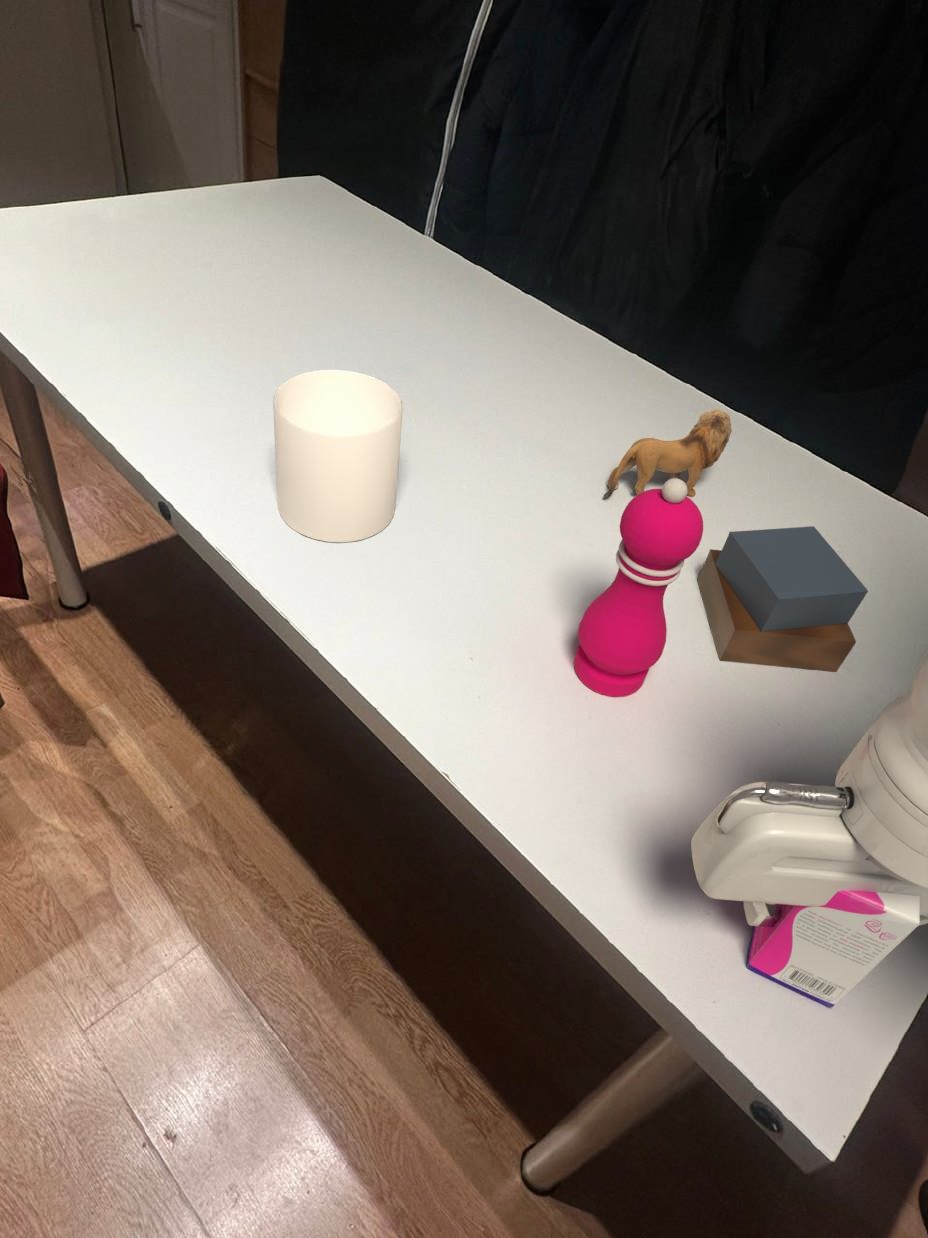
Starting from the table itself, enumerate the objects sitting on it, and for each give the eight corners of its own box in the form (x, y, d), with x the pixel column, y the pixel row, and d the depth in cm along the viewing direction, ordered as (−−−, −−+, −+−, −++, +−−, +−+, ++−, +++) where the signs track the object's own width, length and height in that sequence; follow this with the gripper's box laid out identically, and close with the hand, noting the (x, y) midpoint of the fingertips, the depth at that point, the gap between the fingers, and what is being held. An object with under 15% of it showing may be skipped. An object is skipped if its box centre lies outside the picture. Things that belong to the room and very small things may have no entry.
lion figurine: (692, 465, 97) (717, 397, 91) (721, 491, 94) (749, 422, 88) (590, 488, 91) (610, 417, 85) (618, 516, 88) (640, 444, 82)
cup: (298, 553, 77) (295, 444, 69) (263, 482, 85) (257, 376, 76) (412, 530, 82) (423, 426, 74) (370, 465, 89) (376, 363, 81)
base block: (803, 591, 83) (819, 560, 80) (836, 672, 75) (856, 642, 72) (697, 579, 82) (710, 548, 79) (719, 660, 74) (735, 629, 71)
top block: (796, 558, 80) (814, 525, 77) (848, 623, 74) (868, 590, 71) (714, 564, 78) (729, 531, 75) (761, 632, 71) (778, 599, 69)
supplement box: (841, 931, 56) (926, 845, 49) (831, 1011, 52) (923, 931, 44) (758, 894, 58) (828, 803, 50) (743, 968, 54) (816, 883, 46)
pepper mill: (558, 684, 70) (618, 492, 56) (579, 630, 75) (638, 441, 61) (641, 713, 68) (722, 524, 55) (656, 656, 73) (734, 469, 60)
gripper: (753, 837, 40) (668, 958, 49) (1149, 871, 41) (991, 982, 51) (726, 733, 44) (653, 862, 54) (1083, 766, 46) (950, 886, 55)
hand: (820, 920), depth 52 cm, fingers closed on supplement box, 7 cm apart
